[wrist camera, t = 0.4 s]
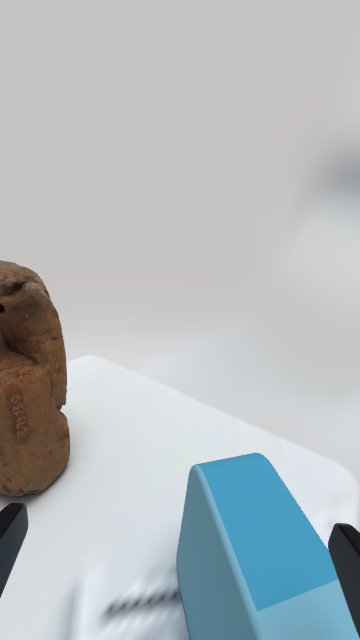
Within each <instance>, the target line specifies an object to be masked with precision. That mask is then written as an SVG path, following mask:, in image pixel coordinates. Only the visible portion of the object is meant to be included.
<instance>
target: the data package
mask: <svg viewBox="0 0 360 640" xmlns="http://www.w3.org/2000/svg"><path fill="white" fill-rule="evenodd" d="M177 573H178V581H179V587H180V592H181V597H182V602H183V607H184V611H185V616H186V621H187V626H188V631H189V636H190V640H360V638H359V636H358V633H357V631H356V628H355V626H354V623H353V620H352V618H351V615H350V612H349V609H348V606H347V603H346V600H345V597H344V594H343V591H342V588H341V585H340V582H339V580H338V577H337V574H336V571H335V568H334V565H333V562H332V559H331V556H330V553H329V551H328V549H327V548H326V546H325V545H324V543H323V542H322V540H321V539H320V537H319V536H318V534H317V533H316V531H315V529H314V528H313V526H312V525H311V523H310V522H309V520H308V519H307V517H306V516H305V514H304V513H303V511H302V510H301V508H300V507H299V505H298V504H297V502H296V501H295V499H294V498H293V496H292V495H291V493H290V492H289V490H288V488H287V487H286V485H285V484H284V482H283V481H282V479H281V478H280V476H279V475H278V473H277V472H276V470H275V469H274V467H273V466H272V464H271V463H270V462H269V460H268V459H267V458H266V457H264V456H263V455H261V454H259V453H252V454H247V455H242V456H237V457H232V458H227V459H222V460H216V461H211V462H206V463H201V464H196V465H194V466H192V468H191V469H190V473H189V479H188V485H187V492H186V498H185V505H184V511H183V518H182V525H181V531H180V538H179V544H178V551H177Z"/></svg>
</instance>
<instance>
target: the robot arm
mask: <svg viewBox="0 0 360 640" xmlns="http://www.w3.org/2000/svg"><path fill="white" fill-rule="evenodd" d="M27 530H28V515H27V506H26V505H25V504H24V503H11V504H9V505H7V506H6V507H5V508H4V509H3V510H1V511H0V597H1V595H2V593H3V590H4V588H5V585H6V583H7V580H8V578H9V575H10V573H11V570H12V568H13V566H14V563H15V561H16V558H17V556H18V553H19V551H20V548H21V546H22V543H23V541H24V538H25V536H26V533H27ZM328 549H329V553H330V556H331V559H332V562H333V565H334V568H335V571H336V574H337V577H338V580H339V582H340V585H341V588H342V591H343V594H344V597H345V600H346V603H347V606H348V609H349V612H350V615H351V618H352V620H353V623H354V626H355V628H356V631H357V633H358V636H359V638H360V533H359V532H358V531H357V530H356V529H355V528H354V527H353V526H351V525H350V524H344V523H336V524H335V525H334V527H333V530H332V533H331V536H330V538H329V542H328Z"/></svg>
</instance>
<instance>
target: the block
mask: <svg viewBox="0 0 360 640" xmlns="http://www.w3.org/2000/svg"><path fill="white" fill-rule="evenodd" d="M66 386H67V369H66V354H65V348H64V341H63V335H62V329H61V324H60V320H59V316H58V313H57V311H56V309H55V307H54V306H53V303H52V302H51V300H50V296H49V293H48V291H47V289H46V287H45V285H44V283H43V281H42V280H41V278H40V277H39V276H38V274H37V273H35V272H34V271H32V270H30V269H28V268H26V267H21V266H19V265H17V264H15V263H12V262H5V261H0V493H1V494H6V495H8V496H11V497H15V496H22V495H25V494H27V493H29V494H32V495H33V494H37V493H39V492H41V491H42V490H43V489H45V488H46V487H47V486H49V485H50V484H51V483H52V482H53V481H54V480H55V479H56V477H57V476H58V475H59V474H60V473H61V472H62V471H63V469H64V468H65V466H66V465H67V463H68V461H69V454H70V437H69V428H68V423H67V418H66V416H65V415H64V414H63V413H62V412H60V409H61V407H62V405H65V403H66V392H67V389H66Z"/></svg>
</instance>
